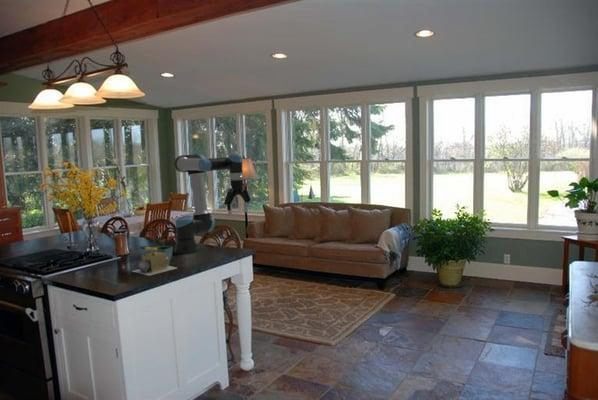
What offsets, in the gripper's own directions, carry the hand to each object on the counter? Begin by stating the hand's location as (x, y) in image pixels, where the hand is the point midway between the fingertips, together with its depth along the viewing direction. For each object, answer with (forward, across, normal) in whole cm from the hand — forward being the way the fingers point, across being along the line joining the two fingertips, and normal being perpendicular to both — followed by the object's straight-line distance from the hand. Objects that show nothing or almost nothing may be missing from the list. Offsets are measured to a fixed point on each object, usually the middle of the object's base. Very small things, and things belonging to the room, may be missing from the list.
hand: (238, 214), depth 293 cm
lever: (+16, -47, +26) cm, 56 cm away
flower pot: (+28, -32, +34) cm, 54 cm away
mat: (+28, -48, +21) cm, 59 cm away
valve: (+27, -48, +21) cm, 59 cm away
